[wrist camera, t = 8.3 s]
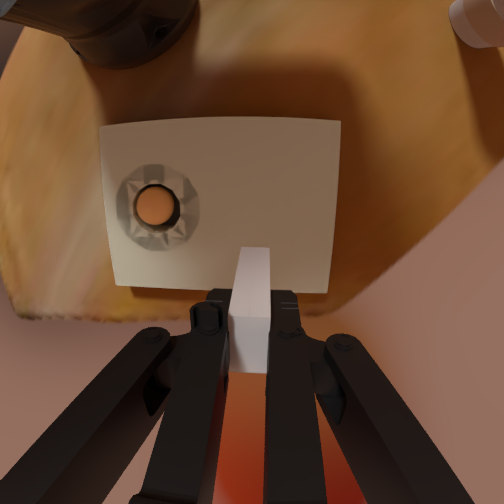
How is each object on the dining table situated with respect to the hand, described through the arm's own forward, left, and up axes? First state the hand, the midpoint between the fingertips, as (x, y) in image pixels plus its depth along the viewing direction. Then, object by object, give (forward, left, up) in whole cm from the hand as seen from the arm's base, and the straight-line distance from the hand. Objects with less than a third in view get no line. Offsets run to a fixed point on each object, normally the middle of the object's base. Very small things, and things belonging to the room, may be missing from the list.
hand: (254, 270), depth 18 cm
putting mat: (0, -4, -18) cm, 18 cm away
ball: (0, -11, -15) cm, 19 cm away
